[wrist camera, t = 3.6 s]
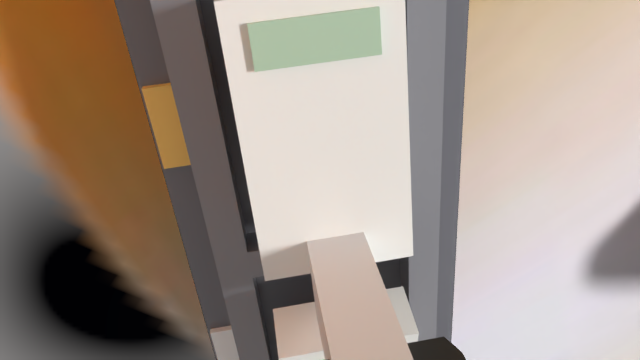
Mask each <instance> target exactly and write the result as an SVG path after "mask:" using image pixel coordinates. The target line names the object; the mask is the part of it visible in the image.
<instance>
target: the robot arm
mask: <svg viewBox="0 0 640 360" xmlns="http://www.w3.org/2000/svg"><path fill="white" fill-rule="evenodd" d="M307 247H308V255H309V262H310V269H311V278H312V286H313V293H314V301H315V308H316V315H317V321H318V326H319V331H320V336H321V341H322V347H323V352H324V357H325V360H466V359H465V357H464V355H463V353H462V352H461V351H460V350H459V349H457V348H456V347H455V346H454V345H453V344H452V343H451V342H450V341H448V340H447V339H446V338H445V337H438V338H433V339H428V340H422V341H417V342H411V343H407V342H406V339H405V337H404V334H403V331H402V329H401V326H400V324H399V321H398V319H397V316H396V314H395V311H394V308H393V306H392V303H391V301H390V298H389V296H388V293H387V291H386V288H385V285H384V283H383V280H382V278H381V275H380V273H379V270H378V268H377V265H376V262H375V260H374V257H373V255H372V252H371V250H370V247H369V245H368V242H367V239H366V237H365V234H364V232H361V233H355V234H349V235H343V236H337V237H331V238H325V239H319V240H313V241H307Z"/></svg>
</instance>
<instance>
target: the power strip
mask: <svg viewBox="0 0 640 360" xmlns="http://www.w3.org/2000/svg"><path fill="white" fill-rule="evenodd" d="M114 1H115V5H116V8H117V12H118V15H119V19H120V22H121V26H122V29H123V33H124V36H125V40H126V44H127V47H128V51H129V54H130V58H131V61H132V65H133V68H134V72H135V75H136V79H137V82H138V86H139V89H140V93H141V96H142V100H143V104H144V107H145V111H146V114H147V118H148V121H149V125H150V128H151V132H152V135H153V139H154V142H155V146H156V149H157V153H158V156H159V160H160V164H161V167H162V171H163V174H164V178H165V181H166V185H167V188H168V192H169V195H170V199H171V202H172V206H173V209H174V213H175V216H176V220H177V224H178V227H179V231H180V234H181V238H182V241H183V245H184V248H185V252H186V255H187V259H188V262H189V266H190V269H191V273H192V276H193V280H194V284H195V287H196V291H197V294H198V298H199V301H200V305H201V308H202V312H203V315H204V319H205V322H206V326H207V329H208V333H209V337H210V340H211V344H212V347H213V351H214V354H215V358H216V360H279V358H278V350H277V341H276V332H275V324H274V315H273V309H276V308H282V307H287V306H293V305H299V304H305V303H310V302H315V301H314V293H313V286H312V278H311V273H310V274H304V275H298V276H293V277H287V278H281V279H275V280H269V281H265V278H264V273H263V268H262V262H261V257H260V251H259V246H258V240H257V235H256V229H255V224H254V219H253V213H252V208H251V202H250V197H249V191H248V186H247V181H246V175H245V170H244V164H243V159H242V153H241V148H240V143H239V137H238V132H237V126H236V121H235V115H234V110H233V104H232V99H231V94H230V88H229V83H228V77H227V72H226V66H225V61H224V56H223V50H222V45H221V39H220V34H219V28H218V23H217V18H216V12H215V7H214V0H114ZM468 10H469V0H405V11H406V42H407V73H408V105H409V136H410V167H411V198H412V229H413V256H410V257H404V258H398V259H392V260H387V261H381V262H376V265H377V268H378V270H379V273H380V275H381V278H382V280H383V283H384V285H385V288H386V289H390V288H396V287H402V286H403V287H404V290H405V293H406V296H407V299H408V302H409V305H410V308H411V311H412V314H413V317H414V320H415V323H416V326H417V329H418V332H419V336H418V341H422V340H428V339H433V338H438V337H445V338H446V339H447V340H448V341H450V342H451V335H452V316H453V297H454V278H455V259H456V239H457V220H458V201H459V182H460V163H461V144H462V125H463V106H464V87H465V68H466V49H467V30H468Z"/></svg>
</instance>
